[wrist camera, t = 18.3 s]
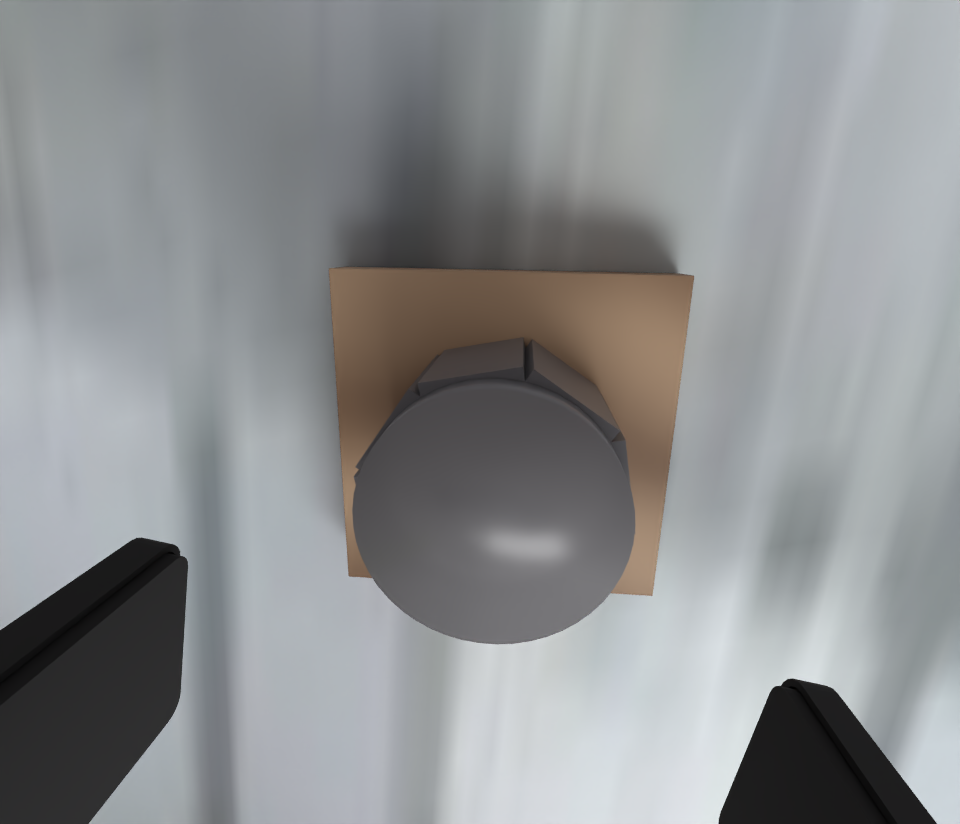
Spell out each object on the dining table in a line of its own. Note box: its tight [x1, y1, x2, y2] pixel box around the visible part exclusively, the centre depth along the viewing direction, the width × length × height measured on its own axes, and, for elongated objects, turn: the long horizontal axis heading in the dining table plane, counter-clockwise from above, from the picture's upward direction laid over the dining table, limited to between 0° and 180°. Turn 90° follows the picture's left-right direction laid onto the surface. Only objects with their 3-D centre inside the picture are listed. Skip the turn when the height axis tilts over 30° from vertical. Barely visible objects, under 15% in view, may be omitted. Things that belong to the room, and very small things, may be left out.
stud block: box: [329, 267, 694, 596], centre depth 15 cm, size 10×10×5 cm
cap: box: [352, 337, 635, 644], centre depth 14 cm, size 6×6×5 cm
